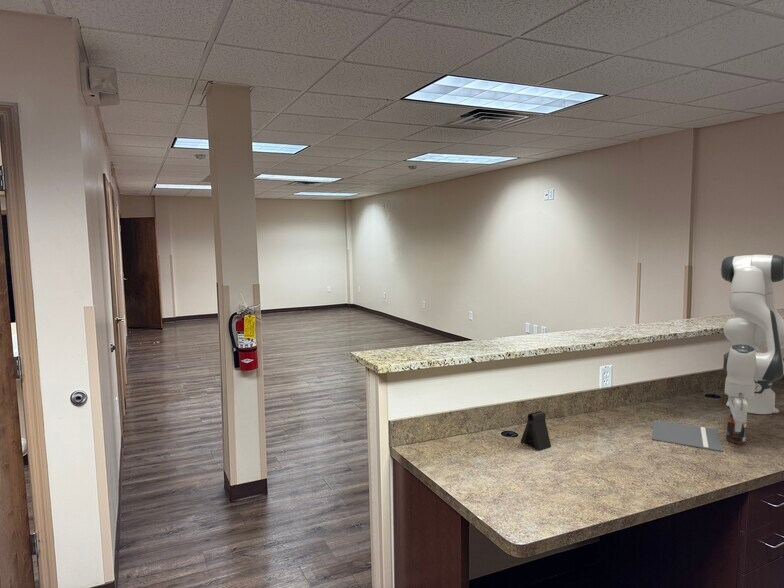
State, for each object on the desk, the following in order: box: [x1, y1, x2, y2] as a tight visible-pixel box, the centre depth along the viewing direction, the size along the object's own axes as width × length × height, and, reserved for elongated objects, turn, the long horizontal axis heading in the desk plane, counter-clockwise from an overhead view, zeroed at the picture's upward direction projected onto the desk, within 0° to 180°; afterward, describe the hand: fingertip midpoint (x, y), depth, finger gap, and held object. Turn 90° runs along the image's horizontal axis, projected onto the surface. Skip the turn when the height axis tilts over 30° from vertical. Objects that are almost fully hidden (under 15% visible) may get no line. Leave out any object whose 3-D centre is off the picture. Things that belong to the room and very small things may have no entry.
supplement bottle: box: [726, 412, 748, 445], centre depth 189 cm, size 6×6×11 cm
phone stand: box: [520, 410, 552, 451], centre depth 187 cm, size 9×6×12 cm, turn 31°
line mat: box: [652, 419, 723, 453], centre depth 196 cm, size 22×22×1 cm
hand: (736, 427), depth 189 cm, fingers open, 8 cm apart
